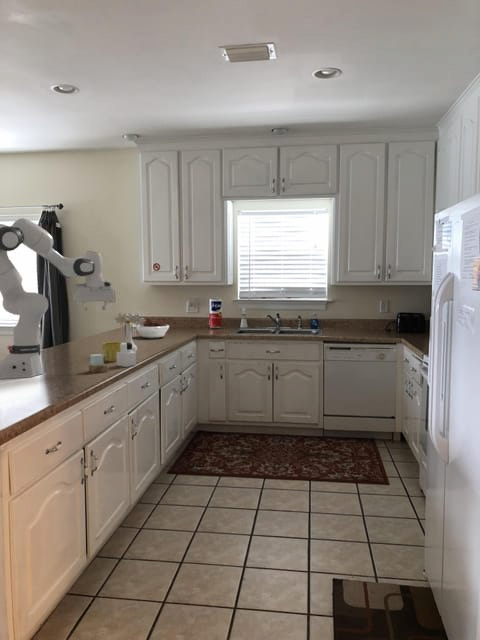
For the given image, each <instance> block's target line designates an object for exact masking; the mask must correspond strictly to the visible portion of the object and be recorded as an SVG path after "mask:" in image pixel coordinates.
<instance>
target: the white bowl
mask: <svg viewBox="0 0 480 640" xmlns="http://www.w3.org/2000/svg"><path fill="white" fill-rule="evenodd" d="M143 324H144V327H142V325H141V329H140V324H137V325H136V324H135V325H136V326H135V329H136V330H137V332H138V333H139V334H140V336H141V337H142V338H146V339H159V338H163V337H164V336H165V335H166V333H167V331H168V330H169V328H170V325H169V324H167V323H166V322H165V320H163V319H160V320H157V318H149V319H148V320H146V321H145V322H144V323H143Z"/></svg>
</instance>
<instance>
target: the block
mask: <svg viewBox="0 0 480 640" xmlns="http://www.w3.org/2000/svg"><path fill="white" fill-rule="evenodd" d="M88 372H90V373H92V374H98V373H99V374H101V373H107V372H108V365H107V364H105V363H103V365H101V366H92V365H90V364H89V365H88Z"/></svg>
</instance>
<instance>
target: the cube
mask: <svg viewBox="0 0 480 640" xmlns="http://www.w3.org/2000/svg"><path fill="white" fill-rule="evenodd" d="M103 364H104V354H101V353H94V354H93V353H92V354H89V365H92V366H101V365H103Z"/></svg>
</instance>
